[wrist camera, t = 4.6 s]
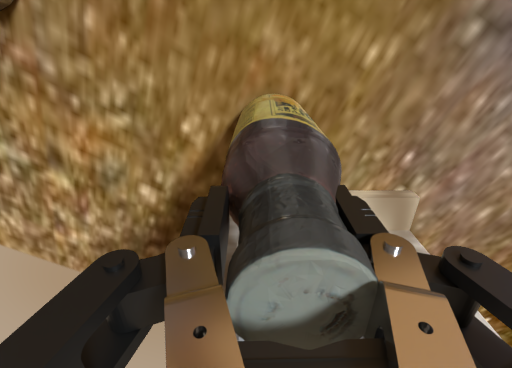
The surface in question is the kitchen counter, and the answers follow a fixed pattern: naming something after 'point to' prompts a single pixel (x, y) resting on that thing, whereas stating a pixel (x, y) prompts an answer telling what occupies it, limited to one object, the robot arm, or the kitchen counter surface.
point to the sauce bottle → (291, 233)
